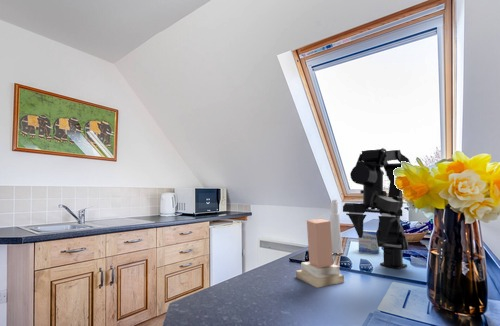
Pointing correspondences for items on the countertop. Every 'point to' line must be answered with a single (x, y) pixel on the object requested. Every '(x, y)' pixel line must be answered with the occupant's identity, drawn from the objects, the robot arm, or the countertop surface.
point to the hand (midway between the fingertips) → (372, 238)
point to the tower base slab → (319, 279)
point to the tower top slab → (320, 270)
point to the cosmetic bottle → (335, 228)
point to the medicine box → (368, 242)
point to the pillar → (319, 242)
